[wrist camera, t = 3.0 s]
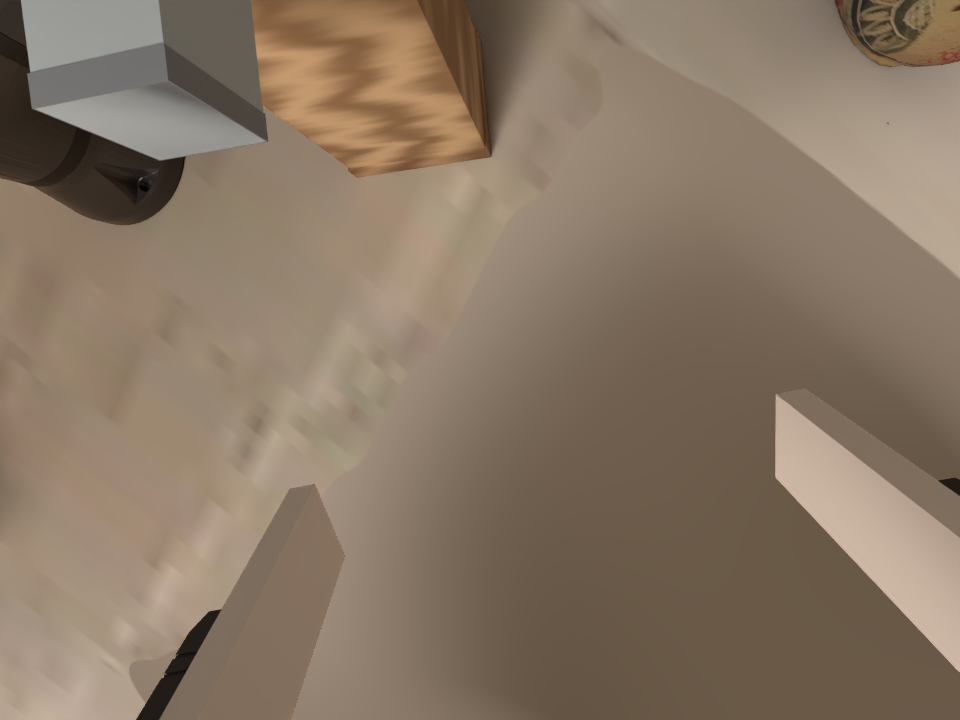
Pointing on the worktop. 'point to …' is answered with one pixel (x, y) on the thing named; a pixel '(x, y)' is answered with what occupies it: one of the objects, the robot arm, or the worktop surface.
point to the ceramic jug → (904, 30)
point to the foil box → (148, 72)
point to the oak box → (376, 79)
